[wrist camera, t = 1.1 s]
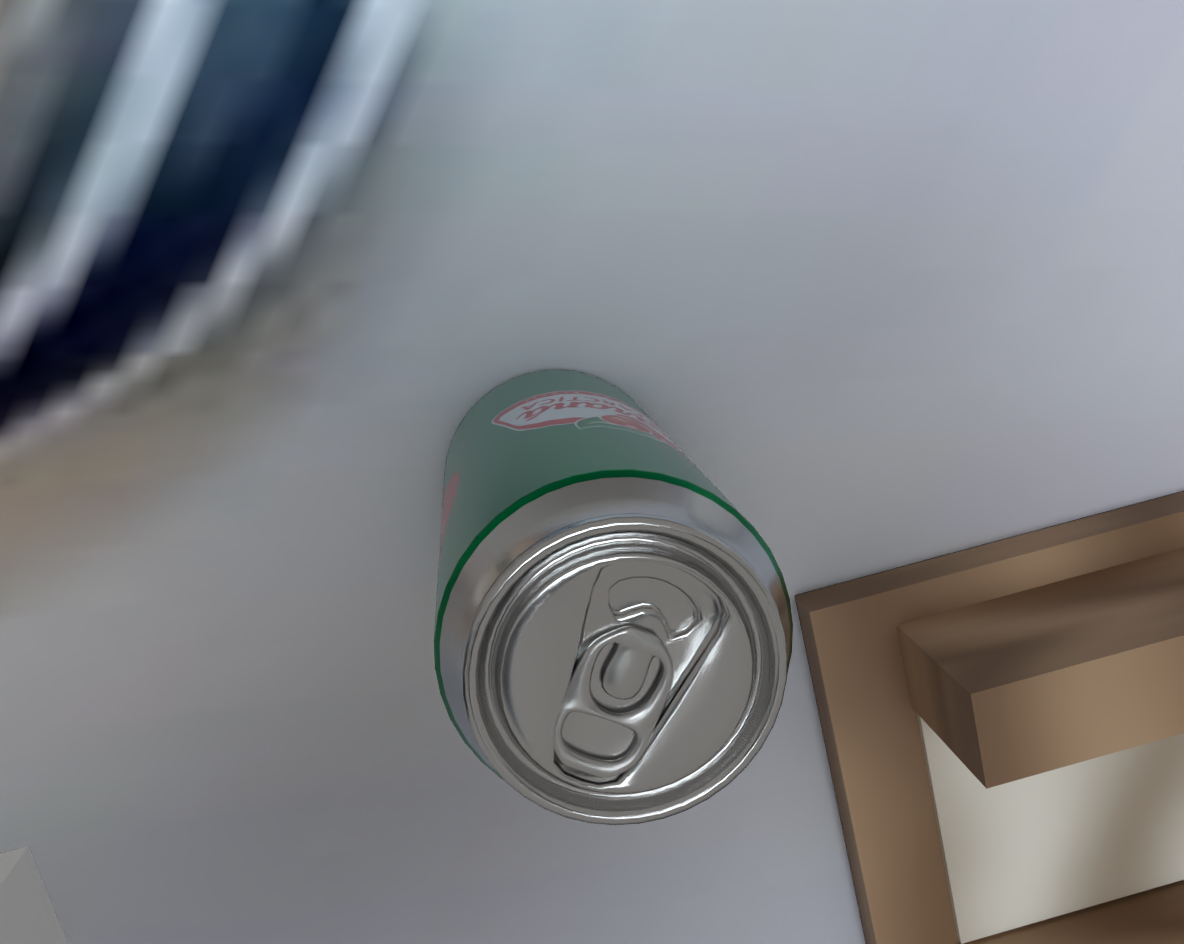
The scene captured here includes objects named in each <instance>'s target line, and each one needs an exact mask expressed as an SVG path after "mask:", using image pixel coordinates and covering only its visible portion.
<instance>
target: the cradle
mask: <svg viewBox="0 0 1184 944" xmlns="http://www.w3.org/2000/svg"><path fill="white" fill-rule="evenodd" d="M795 599H796V604H797V609H798V614H799V618H800V623H801V628H802V633H803V638H804V643H805V648H806V653H807V658H808V662H809V667H810V672H811V677H812V682H813V687H814V692H815V697H816V702H817V706H818V711H819V716H820V721H821V726H822V731H823V736H824V741H825V746H826V750H827V755H828V760H829V765H830V770H831V775H832V780H833V785H834V790H835V794H836V799H837V804H838V809H839V814H840V819H841V824H842V829H843V834H844V839H845V843H846V848H847V853H848V858H849V863H850V868H851V873H852V878H853V883H854V887H855V892H856V897H857V902H858V907H859V912H860V917H861V922H862V927H863V931H864V936H865V941H866V944H1184V491H1182V492H1179V493H1175V494H1171V495H1168V496H1164V497H1160V498H1156V499H1153V500H1149V501H1145V502H1142V503H1138V504H1134V505H1130V506H1127V507H1123V508H1119V509H1116V510H1112V511H1108V512H1104V513H1101V514H1097V515H1093V516H1090V517H1086V518H1082V519H1078V520H1075V521H1071V522H1067V523H1063V524H1060V525H1056V526H1052V527H1049V528H1045V529H1041V530H1037V531H1034V532H1030V533H1026V534H1023V535H1019V536H1015V537H1011V538H1008V539H1004V540H1000V541H997V542H993V543H989V544H985V545H982V546H978V547H974V548H970V549H967V550H963V551H959V552H956V553H952V554H948V555H944V556H941V557H937V558H933V559H930V560H926V561H922V562H918V563H915V564H911V565H907V566H904V567H900V568H896V569H892V570H889V571H885V572H881V573H877V574H874V575H870V576H866V577H863V578H859V579H855V580H851V581H848V582H844V583H840V584H837V585H833V586H829V587H825V588H822V589H818V590H814V591H811V592H807V593H803V594H799V595H796V596H795Z"/></svg>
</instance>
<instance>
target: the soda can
mask: <svg viewBox="0 0 1184 944" xmlns="http://www.w3.org/2000/svg"><path fill="white" fill-rule="evenodd" d="M792 633H793V622H792V614H791V606H790V599H789V595H788V592H787V588H786V585H785V582H784V578H783V575H782V572H781V570H780V568H779V566H778V564H777V562H776V560H775V558H774V556H773V554H772V552H771V550H770V548H769V547H768V546H767V544H766V543H765V542H764V540H763V539H762V537H761V536H760V535H759V533H758V532H757V531H756V529H755V528H754V527H753V526H752V525H751V524H750V522H749V521H748V520H747V519H746V518H745V517H744V516H743V515H742V514H741V513H740V512H739V511H738V510H737V509H736V508H735V507H734V506H733V505H732V504H731V502H730V501H729V500H728V499H727V498H726V497H725V496H724V495H723V494H722V493H721V492H720V491H719V490H718V489H717V488H716V487H715V486H714V485H713V484H712V482H711V481H710V480H709V479H708V478H707V477H706V476H705V475H704V474H703V473H702V472H701V471H700V470H699V469H698V468H697V467H696V466H695V465H694V464H693V462H692V461H691V460H690V459H689V458H688V457H687V456H686V455H685V454H684V453H683V452H682V451H681V450H680V449H679V448H678V447H677V446H676V445H675V444H674V442H673V441H672V440H671V439H670V438H669V437H668V436H667V435H666V434H665V433H664V432H663V431H662V430H661V429H660V428H659V427H658V426H657V425H656V424H655V422H654V421H653V420H652V419H651V418H650V417H649V416H648V415H647V414H646V413H645V412H644V411H643V410H642V409H641V408H640V407H639V406H638V405H637V404H636V403H635V402H634V401H633V400H632V399H631V398H630V397H629V396H628V395H627V394H625V393H624V392H623V391H621V390H620V389H618V388H617V387H616V386H614V385H612V384H610V383H608V382H606V381H604V380H602V379H600V378H598V377H595V376H592V375H588V374H585V373H582V372H576V371H569V370H544V371H538V372H533V373H528V374H525V375H522V376H519V377H516V378H513V379H511V380H509V381H507V382H505V383H503V384H501V385H499V386H498V387H496V388H494V389H493V390H492V391H490V392H489V393H488V394H486V395H485V396H484V397H482V398H481V399H480V400H479V401H478V402H477V403H476V404H475V405H474V406H473V407H472V408H471V410H470V411H469V412H468V413H467V415H466V416H465V418H464V419H463V420H462V422H461V423H460V425H459V427H458V429H457V431H456V433H455V435H454V437H453V439H452V441H451V444H450V448H449V451H448V454H447V458H446V466H445V473H444V488H443V504H442V520H441V536H440V552H439V568H438V584H437V599H436V615H435V631H434V655H435V670H436V675H437V679H438V684H439V689H440V694H441V696H442V699H443V702H444V704H445V707H446V709H447V712H448V714H449V717H450V719H451V721H452V722H453V724H454V726H455V727H456V729H457V731H458V732H459V734H460V736H461V737H462V739H463V741H464V742H465V743H466V744H467V746H468V747H469V748H470V749H471V750H472V751H473V753H474V754H475V755H476V756H477V757H478V758H479V760H480V761H481V762H482V763H484V764H485V765H486V766H487V767H488V768H489V769H491V770H492V771H493V772H494V773H495V774H497V775H498V776H499V777H500V778H501V779H503V780H505V781H506V782H507V783H508V784H509V785H510V786H512V787H513V788H514V789H515V790H516V791H518V792H519V793H520V794H521V795H522V796H524V797H525V798H527V799H529V800H530V801H532V802H534V803H535V804H537V805H539V806H540V807H542V808H544V809H546V810H549V811H551V812H554V813H556V814H559V815H561V816H564V817H566V818H570V819H575V820H579V821H583V822H588V823H595V824H607V825H624V824H640V823H644V822H649V821H654V820H659V819H664V818H666V817H669V816H672V815H675V814H678V813H680V812H683V811H686V810H688V809H690V808H692V807H694V806H696V805H698V804H699V803H701V802H703V801H705V800H707V799H709V798H710V797H712V796H713V795H714V794H716V793H717V792H719V791H720V790H721V789H723V788H724V787H726V786H727V785H728V784H730V783H731V782H732V781H733V780H734V779H735V778H736V777H737V776H738V775H739V774H740V773H741V772H742V771H743V770H744V769H745V768H746V767H747V766H748V765H749V763H750V762H751V761H752V759H753V758H754V757H755V755H756V754H757V753H758V752H759V750H760V749H761V748H762V746H763V744H764V742H765V741H766V739H767V737H768V735H769V733H770V732H771V730H772V728H773V726H774V723H775V721H776V718H777V715H778V713H779V710H780V707H781V704H782V700H783V695H784V690H785V685H786V680H787V673H788V668H789V663H790V658H791V653H792Z"/></svg>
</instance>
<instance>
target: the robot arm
mask: <svg viewBox="0 0 1184 944" xmlns="http://www.w3.org/2000/svg"><path fill="white" fill-rule="evenodd" d="M0 944H68V943H67V940H66V938H65V935H64V933H63V930H62V928H61V925H60V923H59V921H58V918H57V916H56V913H55V911H54V908H53V906H52V903H51V901H50V898H49V896H48V893H47V891H46V889H45V886H44V884H43V881H42V879H41V876H40V874H39V871H38V869H37V866H36V864H35V861H34V859H33V857H32V854H31V852H30V849H29V847H28V846H26V847H23V848H19V849H15V850H11V851H8V852H4V853H0Z"/></svg>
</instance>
